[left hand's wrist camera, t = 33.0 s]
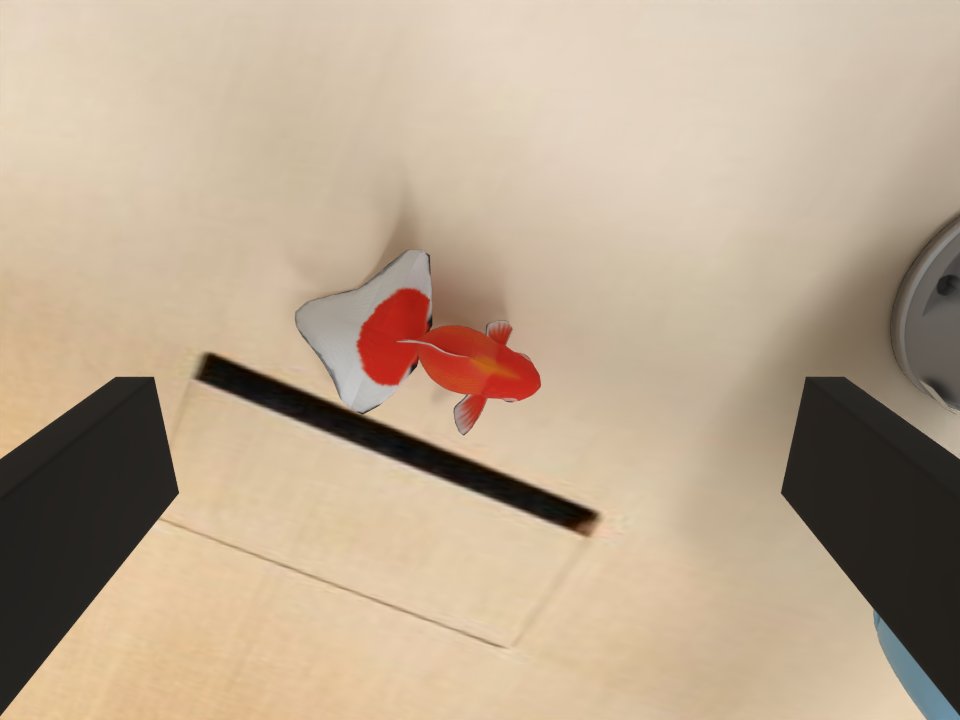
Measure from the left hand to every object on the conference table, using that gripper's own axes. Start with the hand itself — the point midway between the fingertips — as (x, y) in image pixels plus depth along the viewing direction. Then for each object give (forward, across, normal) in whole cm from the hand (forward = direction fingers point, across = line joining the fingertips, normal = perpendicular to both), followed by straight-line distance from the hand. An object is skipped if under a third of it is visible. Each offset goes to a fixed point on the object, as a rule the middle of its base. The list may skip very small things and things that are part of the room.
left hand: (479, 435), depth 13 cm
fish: (+29, -4, -7) cm, 30 cm away
